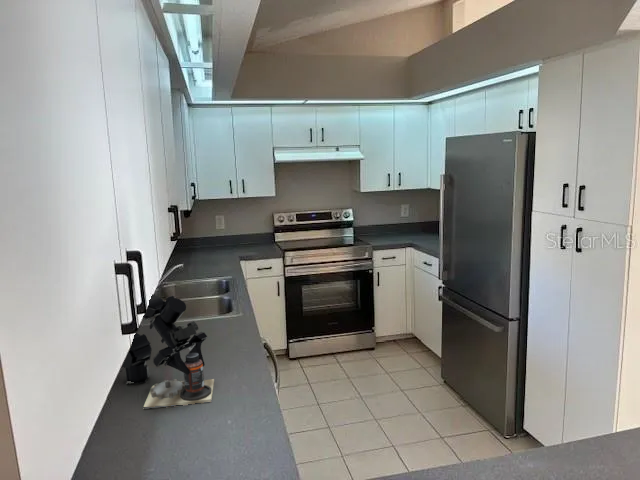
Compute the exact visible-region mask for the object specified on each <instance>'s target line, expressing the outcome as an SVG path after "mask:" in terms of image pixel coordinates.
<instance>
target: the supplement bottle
mask: <svg viewBox="0 0 640 480" xmlns="http://www.w3.org/2000/svg"><path fill="white" fill-rule="evenodd" d="M188 353H189V352H188ZM188 353H187V354H186V355H185V361H183V362H184V363H185V365H186V366H187V368H188V369H189V371H190V374H189V375H187V374H185V373H183V381H185V390H186V391H187V392H198V391H201V390H202V389H203V388H204V380H205V376H204V367H203V363H202V360H200V359H199V354H198V353H189V354H188Z"/></svg>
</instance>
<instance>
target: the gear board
mask: <svg viewBox="0 0 640 480" xmlns="http://www.w3.org/2000/svg"><path fill="white" fill-rule="evenodd" d="M214 387H215V378H212V379H204V388H203V389H202V390H201V391H198V392H187V391H186V390H185V381H184V380H180V381H179V380H178V378H174V379H173V380H168V379H164V380H163V381H162V382H160V383H159V382H156V383H155V384H154V385H151V387H150V389H149V393H148V395H147V398H146V400H145V402H144V405H143V407H155V406H171V405H183V406H189V405H188V404H192V405H196V404H195V403H201V404H205V403H204V402H210V403H212V401H211V400H213V392H214Z"/></svg>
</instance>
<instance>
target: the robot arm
mask: <svg viewBox="0 0 640 480" xmlns="http://www.w3.org/2000/svg"><path fill="white" fill-rule="evenodd" d="M151 294H152V293H151ZM186 310H187V304H186V303H185V301H183V300H181V299H180V298H177V297H175V296H174V295H170V296H168V297H167V298H166V299H165V300H163V299H162V298H161V297H159V296H158V295H155V294H154V293H153V294H152V296H151V299H150V300H149V306H148V309H147V313H146V314H145V315H144V316H143V317H142V318H143V319H145V320H146V319H150V321H149V322H150V323H149V329H150V330H152V329H155V330H156V332H157V333H158V334H159V336H160V338H161V340H160V342H161V343H162V344H164V343H165V345H166V347H164V348H162V349H160V350H158V352H157V353H156V354H155V356H154V357H153V361H152V362H153V364H154V365H155V367H156V368H158V367H161V366H162V365H164V366H165V367H166V366H169V367H171V368H174V369H176V370H178V371H180V372H182V373H183V374H184V373H185V374H187V375H189V374H190V371H189V369H188V368H187V366H186V365H185V363H184V362H185V361H184V360H183V359H182V357H181V353H180V352H183V351H185V350H187V349H188V350H189V352H188V353H187V354H189V353H198V354H199V359H200V360H202V363H203V368H204V366H205V365H206V364H205V360H204V358H203V357H204V356H203V353H202V345H203V343H204V342H205V341H206V340H207V339H208V335H207V334H206V333H205V332H204V331H200V332H198V333H197V331H199V326H198V324H197V322H195V320H194V321H191V322H189V323H187V326H186V327H184V328H183V327H182V326H180V325H179V326H177V324H176V322H178V321H179V319H180V318H181V316H182V315H183V314H184V313H185V311H186ZM153 317H155V318H153ZM151 318H153V319H151ZM191 336H192V337H191ZM152 350H153V349H152V345H151V342H150V341H149V339H148V337H147V335H146V334H145V333H144V334H140V333H136V334H135V335H134V339H133V342H132V346H131V348H130V351H129V353H128V355H127V358H126V360H125V362H124V364H123V366H122V367H121V368H125V375H126V382H127V381H131V382H134V383H138V384H145V383H146V382H147V380H148V379H149V377H150V369H149V365H148V364H147V361H150V360H151V356H152Z"/></svg>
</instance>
